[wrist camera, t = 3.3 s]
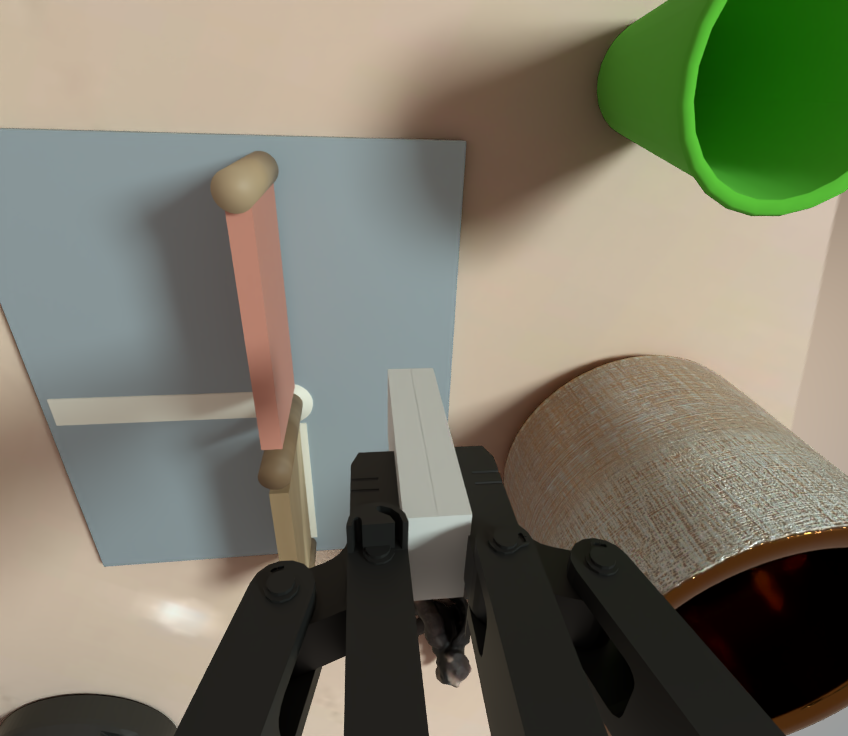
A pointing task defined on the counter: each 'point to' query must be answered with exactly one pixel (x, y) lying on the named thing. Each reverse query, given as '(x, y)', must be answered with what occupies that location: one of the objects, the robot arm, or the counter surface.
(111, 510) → the card
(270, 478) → the fixed fence panel
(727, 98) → the cup
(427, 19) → the counter surface
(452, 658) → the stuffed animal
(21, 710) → the robot arm
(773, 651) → the planter
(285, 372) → the hinged fence panel
